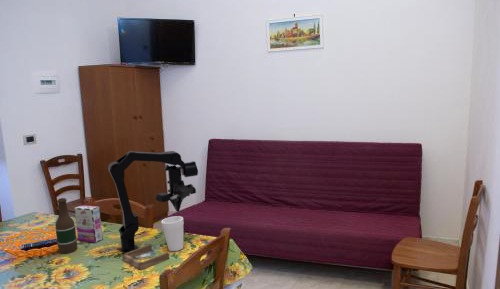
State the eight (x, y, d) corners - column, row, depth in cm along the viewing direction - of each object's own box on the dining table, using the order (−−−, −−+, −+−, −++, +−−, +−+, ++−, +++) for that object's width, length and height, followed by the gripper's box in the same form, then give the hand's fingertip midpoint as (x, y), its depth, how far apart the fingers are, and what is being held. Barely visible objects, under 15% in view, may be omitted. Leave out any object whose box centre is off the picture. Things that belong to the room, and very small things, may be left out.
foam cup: (182, 252, 167) (178, 222, 165) (162, 253, 168) (158, 224, 167) (189, 243, 176) (185, 215, 174) (169, 244, 178) (165, 216, 176)
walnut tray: (122, 260, 163) (122, 254, 163) (150, 249, 172) (149, 244, 172) (140, 270, 153) (140, 264, 153) (169, 258, 162) (168, 252, 162)
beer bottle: (81, 248, 178) (75, 197, 174) (67, 255, 171) (60, 202, 167) (69, 246, 181) (62, 195, 177) (54, 252, 174) (47, 200, 170)
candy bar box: (103, 239, 187) (100, 206, 185) (95, 243, 183) (92, 209, 180) (85, 236, 192) (81, 204, 189) (77, 240, 187) (73, 207, 184)
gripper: (168, 185, 167) (171, 220, 170) (202, 176, 181) (204, 209, 183) (153, 182, 175) (156, 215, 178) (187, 173, 188) (189, 205, 191)
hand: (177, 211), depth 182 cm, fingers closed
